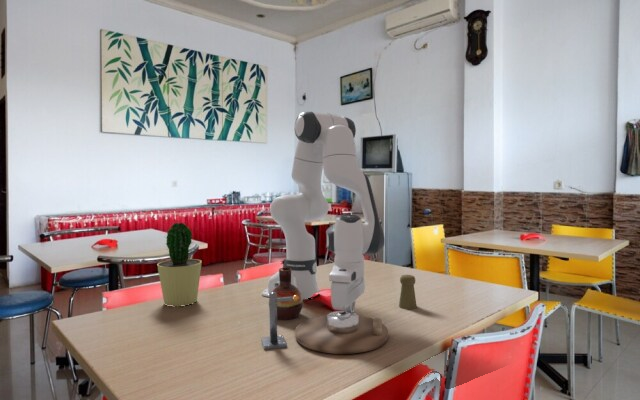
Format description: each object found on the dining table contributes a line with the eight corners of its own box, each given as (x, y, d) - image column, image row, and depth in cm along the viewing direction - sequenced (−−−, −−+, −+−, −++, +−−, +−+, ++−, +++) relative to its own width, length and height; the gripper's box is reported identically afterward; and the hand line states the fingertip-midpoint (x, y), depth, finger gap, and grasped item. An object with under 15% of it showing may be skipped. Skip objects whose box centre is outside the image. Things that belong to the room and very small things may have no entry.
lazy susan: (278, 344, 108) (278, 324, 108) (317, 314, 132) (317, 298, 132) (373, 360, 98) (373, 338, 97) (397, 325, 122) (397, 307, 121)
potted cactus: (166, 312, 138) (164, 224, 137) (152, 302, 150) (150, 221, 149) (209, 303, 148) (207, 221, 147) (192, 294, 160) (191, 218, 159)
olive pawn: (417, 309, 138) (416, 277, 137) (398, 308, 139) (398, 276, 138) (416, 304, 144) (416, 273, 143) (399, 303, 145) (398, 273, 144)
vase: (309, 313, 135) (308, 267, 134) (290, 323, 125) (289, 274, 125) (282, 308, 141) (281, 264, 140) (261, 318, 131) (260, 270, 130)
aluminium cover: (322, 331, 113) (322, 315, 113) (333, 321, 121) (333, 306, 121) (353, 336, 110) (353, 319, 109) (362, 324, 118) (362, 309, 118)
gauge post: (264, 349, 106) (263, 296, 105) (261, 341, 112) (260, 290, 111) (301, 345, 109) (300, 293, 108) (296, 337, 114) (296, 287, 114)
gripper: (350, 262, 131) (350, 305, 132) (326, 276, 112) (327, 325, 113) (369, 263, 129) (369, 307, 129) (348, 278, 110) (348, 328, 110)
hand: (349, 316), depth 121 cm, fingers closed
